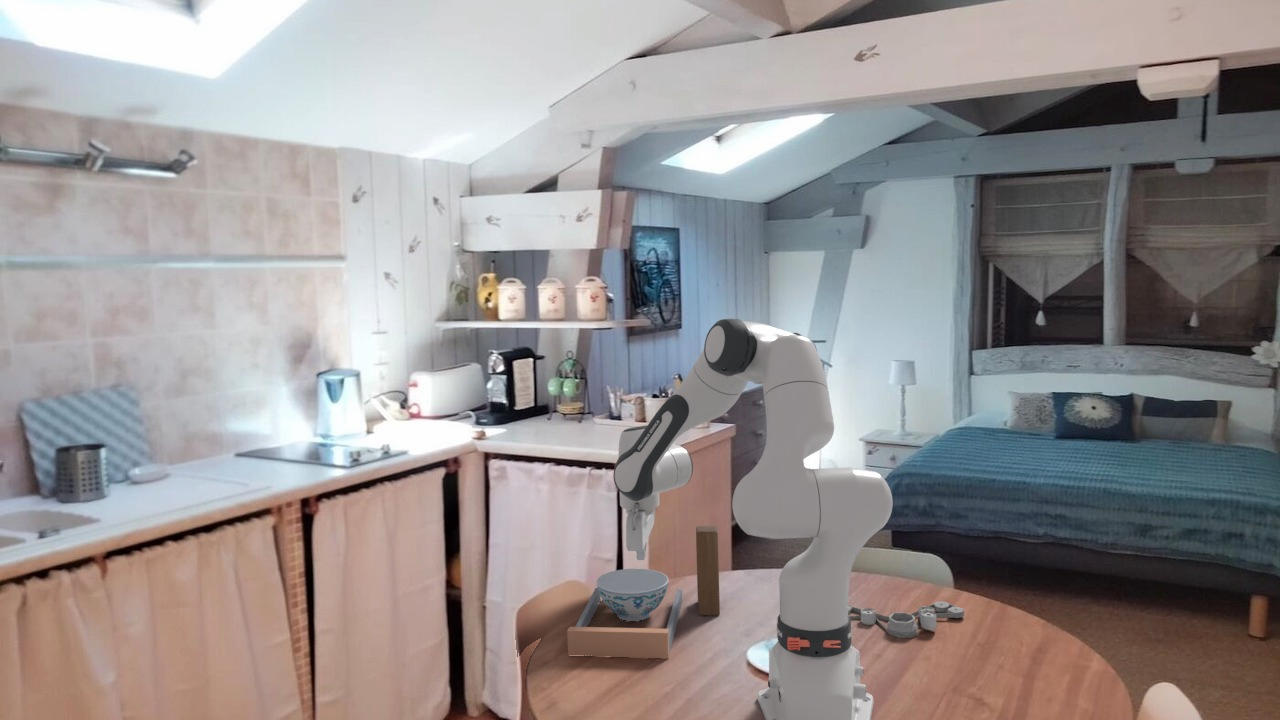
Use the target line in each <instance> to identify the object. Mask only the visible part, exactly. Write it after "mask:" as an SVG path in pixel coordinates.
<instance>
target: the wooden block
mask: <svg viewBox="0 0 1280 720" xmlns="http://www.w3.org/2000/svg"><path fill="white" fill-rule="evenodd" d="M718 529H719V528H718V526H716V525H704V526H703V525H700V526H699V525H698V526H696V530H695V541H696V542H695V543H696V544H695V545H696V546H695V547H696V578H697V579H696V581H697V585H696V586H697V614H698V616H700V615H708V616H720V613H721V607H720V604H721V603H720V575H719V574H720V568H719V534H718V533H719V532H718V531H719V530H718Z"/></svg>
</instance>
